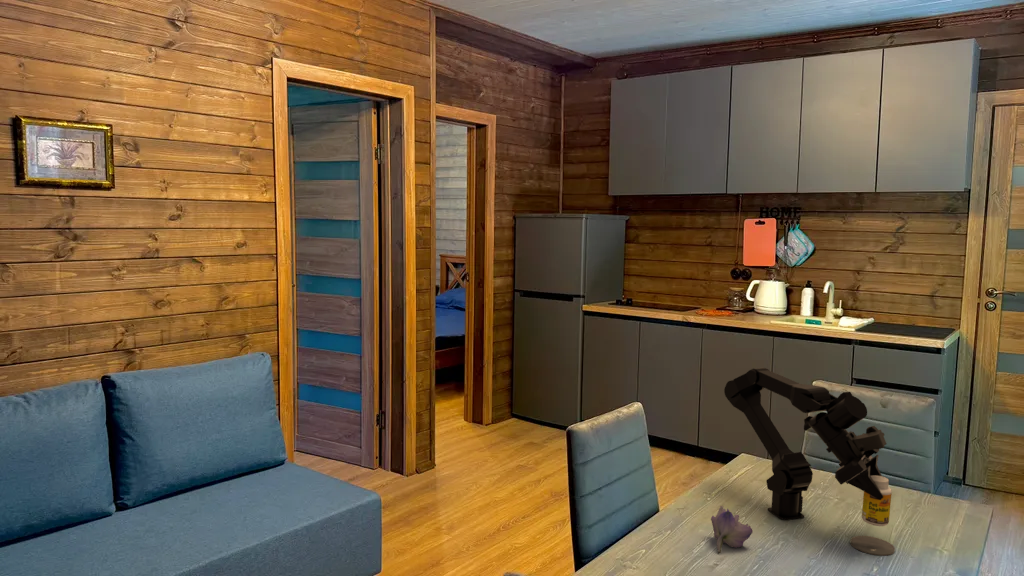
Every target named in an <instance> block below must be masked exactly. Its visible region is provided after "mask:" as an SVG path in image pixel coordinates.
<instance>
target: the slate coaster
mask: <svg viewBox="0 0 1024 576" xmlns="http://www.w3.org/2000/svg"><path fill="white" fill-rule="evenodd" d="M849 542H850V543H849V544H850V545H851V546H852V547H853V548H854V549H856V550H858V551H859V552H862V553H865V554H867V555H872V556H877V557H882V556H884V557H887V556H891V555H893V554H895V552H896V551H895V550H896V548H895V546H894V545H893V544H892V543H891V542H888V541H887V540H884V539H882V538H879V537H874V536H871V535H870V536H869V535H856V536H853V537H851V538H850V541H849Z"/></svg>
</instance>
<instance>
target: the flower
mask: <svg viewBox="0 0 1024 576" xmlns="http://www.w3.org/2000/svg"><path fill="white" fill-rule="evenodd" d="M739 518H740V515H739V514H734V515H733V513H732V512H731V511H730V510H729V508H727V509H725V508H724V506H723V505H720V506H719V509H718V511H717V514H716V515H712V516H711V517H710V521H711V524H712V529H713V537H714V538H715V539H716V548H717V553H718V554H719V553H721V554H722V547H723V545H724V544H727V545H728V546H729V547H731V548H733V547H734V548H736V549H738V548H741V547H743V546H744V543H745V541H748V539H749V538H750V537H751V535H752V534H753V528H752V527H751V526H750V525H749V524H748V523H746V524H743V523H742V522H740V521H739V520H740V519H739ZM737 547H738V548H737Z"/></svg>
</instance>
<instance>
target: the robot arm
mask: <svg viewBox="0 0 1024 576" xmlns="http://www.w3.org/2000/svg"><path fill="white" fill-rule="evenodd" d="M765 389H766V390H768V391H770V392H772V393H775V394H777V395H779V396H781V397H783V398H785V399H787V400H788V401H789V402H790V404H791V405H792V406H793V407H794V408H796V409H797V410H798V411H800V412H801V413H804V414H809V413H816V412H817V414H816V415H814V416H811V415H808V416H807V417H805V418H804V419H803V421H804V425H803V430H804V432H806V431H808V430H809V429H812V430H813V431H814V433H815V434H816V435H817V436H818V437H819V438H820V439H821V440H822V442H823V443H824V444H825V445H826V447H827V448H825V450H826V451H827V452H828V453H829V454H830V453H832V454H833V455H834V457H835V458H836V459H837V460H838V461H839V463H838V465H839V467H838V468H837V470H836V471H835V472H834V473H835V475H834V479H836V481H837V482H838V483H839V485H843V484H845V483H846V484H847V485H848V484H849V485H851V486H853V487H855V488H857V489H859V490H861V491H862V492H863V493H864V492H866V493H868V494H870V495H872V496H874V497H875V498H877V499H879V500H880V499H882V498H883V495H882V493H881V491H880V490H879V488H878V487H877V485H876V484H875V482H874V481H873V479H872V478H871V476H872V475H876V476H882V477H883V475H882V473H881V471H880V469H879V466H878V460H879V454H878V453H879V452H880V450H881V449H885V446H886V445H887V441H886V439H885V437H884V436H885V433H884V432H883V431H882V429H879V428H878V427H876V426H875V425H871V426H867V428H866V431H865V433H862V434H858V435H857V434H856V433H855V432H854V431H851V430H850V431H848V429H849V428H851V427H852V426H855V425H856V424H857V423H859V422H860V421H862V420H864V419H865V418H866V417H867V415H868V408H867V406H866V404H865V403H863V402H862V401H861V399H859V398H858V397H856V396H854V395H853V394H852V392H851V391H843V392H842V393H840V394H839V395H838V396H835V395H833V394H831V393H830V391H829V390H828V389H827V388H826V387H825V386H819V385H814V384H805V383H804V384H803V383H799V382H797V381H795V380H792V379H790V378H788V377H785V376H784V375H781V374H779V373H776V372H774V371H771V370H770V369H768V368H767V367H755V368H754V367H753V368H751V369H749V370H748V371H747V372H746V373H743V374H742V375H740V376H738V377H735V378H733V379H732V380H731V379H730V380H728V381H727V382H726V384H725V386H724V390H723V391H724V396H725V398H726V399H727V401H729V403H730V405H731V406H733V408H735V409H737V410H738V411H740V412H741V413H743V415H744V416H745V417H746V419H747V420H748V422H749V424H750V425H751V427H752V428H753V430H754V432H755V434H756V435H757V437H758V438H759V441H760V442H761V443H762V445H763V447H764V448H765V450H766V451H767V454H768V455H769V457H770V458H771V472H772V475H771V476H770V477H768V478H767V479H766V486H767V487H766V488H767V490H768V491H769V490H770V491H771V493H772V494H771V506H770V507H767V511H769V512H770V513H772V514H773V515H775V517H777V518H778V519H780V520H795V519H804V518H805V517H806V515H805V514H803V513H802V512H803V503H804V497H803V492H807V491H808V489H809V487H810V485H811V484H812V482H813V475H814V473H813V469H812V468H811V467H812V465H811V463H809V461H808V460H807V458H806V457H805V455H804V453H803V452H802V451H798V452H794V451H793V450H791V449H790V448H789V447H788V446H789V445H787V443H786V441H785V439H784V438H783V436H781V434H780V432H779V431H778V429H777V427H776V426H775V424H774V423H773V421H772V420H771V418H770V416H769V415H768V413H767V411H766V410H765V408H764V406H763V405H762V393H761V392H762V391H763V390H765ZM873 454H874V455H875V456H872V455H873Z"/></svg>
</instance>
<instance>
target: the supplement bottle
mask: <svg viewBox="0 0 1024 576" xmlns="http://www.w3.org/2000/svg"><path fill="white" fill-rule="evenodd" d="M871 478H872V479H873V481H874V482H875V484H876V485H877V487H878V488H879V490H880V491H881V493H882V495H883V498H882V499H880V500H879V499H877V498H875V497H874V496H872V495H870V494H868V493H866V492H864V491H863V499H862V509H861V510H862V511H861V519H862V521H863V522H864V523H866V524H868V525H871V526H876V527H885V526H887V525H889V523H890V516H891V513H890V512H891V503H892V496H893V495H892V493H893V492H892V489H891V487H890V486H889V484H890V483H889V482H890V481H889V478H887V477H885V476H883V475H882V476H876V475H872V476H871Z"/></svg>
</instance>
